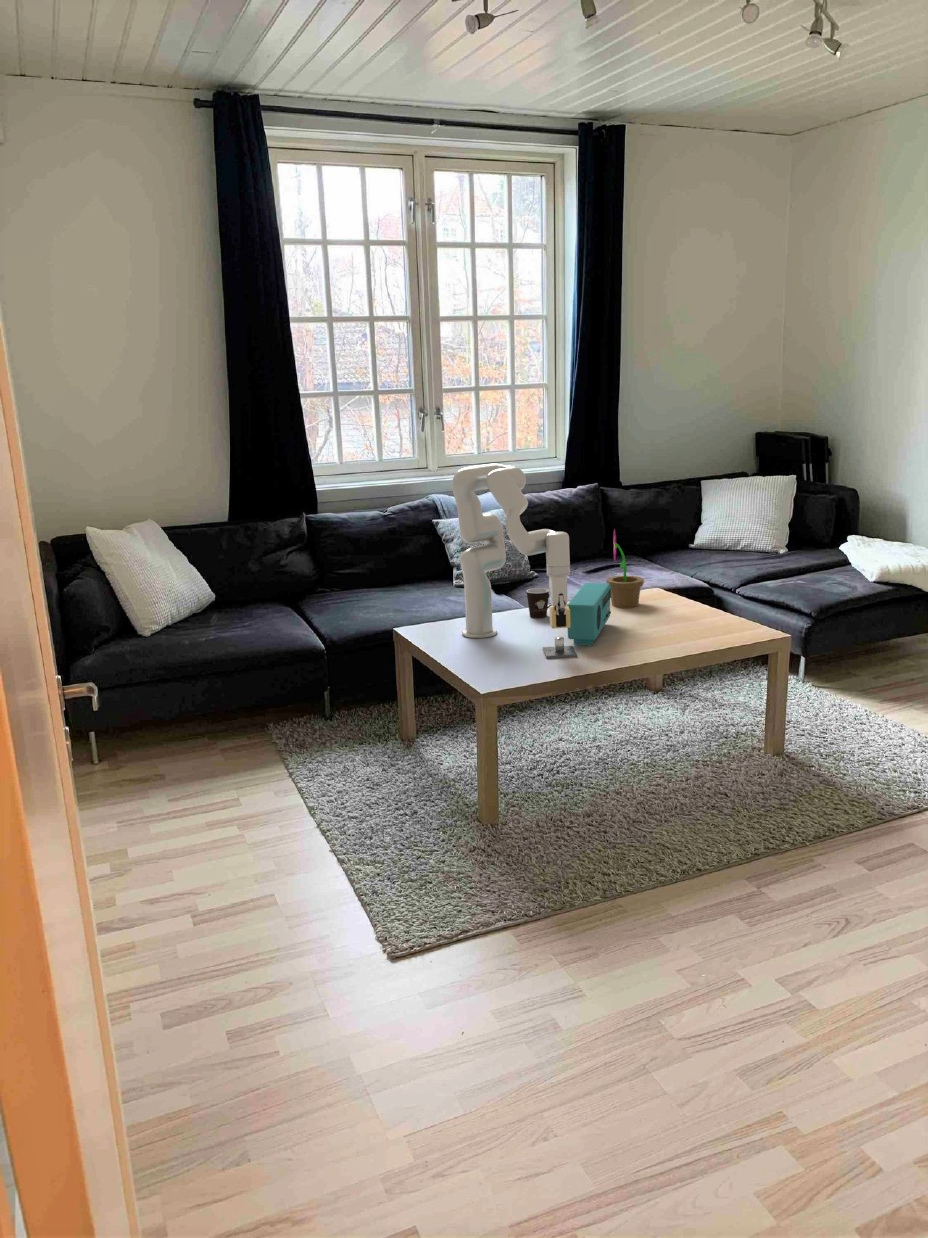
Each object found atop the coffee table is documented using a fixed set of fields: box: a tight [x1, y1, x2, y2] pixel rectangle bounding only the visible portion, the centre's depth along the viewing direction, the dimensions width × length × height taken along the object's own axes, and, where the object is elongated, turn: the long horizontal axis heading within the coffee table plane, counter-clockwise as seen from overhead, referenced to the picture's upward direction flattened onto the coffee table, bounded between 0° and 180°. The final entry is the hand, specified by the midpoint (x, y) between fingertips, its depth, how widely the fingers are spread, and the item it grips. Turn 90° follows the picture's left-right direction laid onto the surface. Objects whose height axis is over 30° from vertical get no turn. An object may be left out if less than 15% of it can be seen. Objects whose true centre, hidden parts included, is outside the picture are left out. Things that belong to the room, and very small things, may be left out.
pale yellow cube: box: [548, 604, 571, 630], centre depth 312 cm, size 6×6×6 cm
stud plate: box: [542, 636, 578, 660], centre depth 315 cm, size 10×10×5 cm
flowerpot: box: [606, 528, 645, 609], centre depth 371 cm, size 14×14×30 cm
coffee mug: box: [525, 587, 552, 619], centre depth 362 cm, size 12×9×10 cm
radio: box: [567, 582, 612, 647], centre depth 334 cm, size 34×10×15 cm, turn 163°
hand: (559, 623), depth 313 cm, fingers closed on pale yellow cube, 6 cm apart
